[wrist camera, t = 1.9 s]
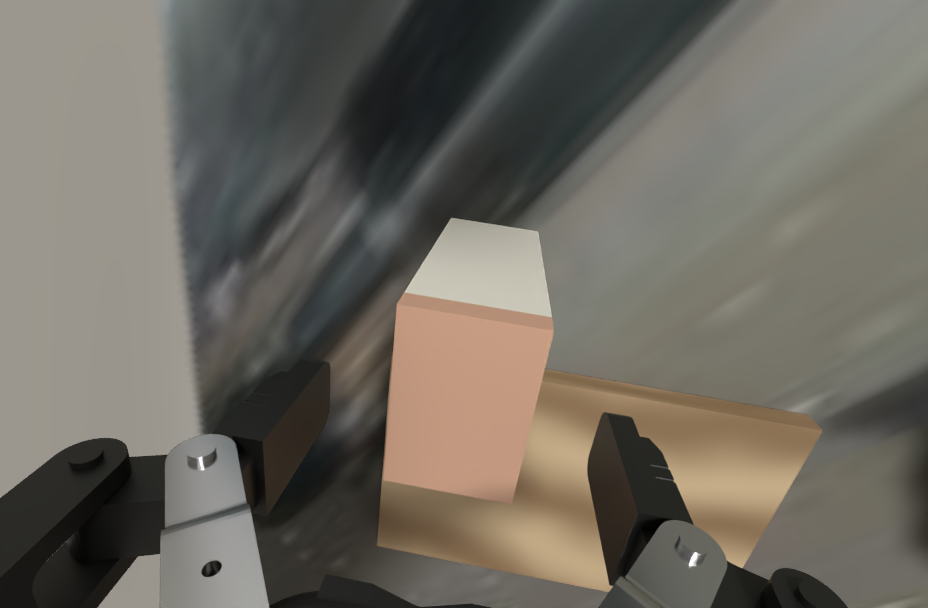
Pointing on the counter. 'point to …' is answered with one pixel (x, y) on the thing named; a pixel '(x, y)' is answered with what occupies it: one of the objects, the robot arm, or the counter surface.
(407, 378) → the block
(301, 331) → the counter surface
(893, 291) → the counter surface
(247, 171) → the counter surface
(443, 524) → the board
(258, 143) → the counter surface
